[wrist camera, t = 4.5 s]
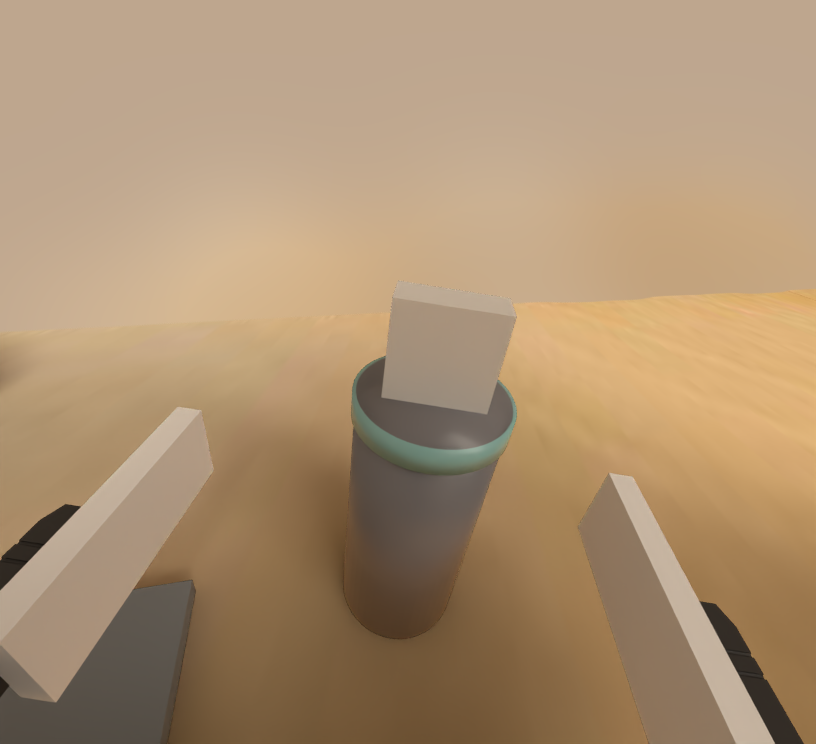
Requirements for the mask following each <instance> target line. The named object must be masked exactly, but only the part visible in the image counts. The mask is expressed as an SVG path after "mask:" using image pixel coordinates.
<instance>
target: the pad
mask: <svg viewBox="0 0 816 744" xmlns="http://www.w3.org/2000/svg"><path fill="white" fill-rule="evenodd" d="M195 592H196V591H195V587H194V584H193V581H192V580H188V581H182V582H176V583H170V584H164V585H158V586H151V587H145V588H139V589H133V590H132V592H131V593H130V595H129V596H128V598H127V599H126V600H125V602H124V603H123V605H122V606H121V608H120V609H119V611H118V612H117V614H116V615H115V617H114V618H113V620H112V621H111V623H110V624H109V626H108V627H107V628H106V630H105V631H104V633H103V634H102V636H101V637H100V639H99V640H98V642H97V643H96V645H95V646H94V648H93V649H92V651H91V652H90V653H89V655H88V656H87V658H86V659H85V661H84V662H83V664H82V665H81V667H80V668H79V670H78V671H77V673H76V674H75V676H74V677H73V679H72V680H71V681H70V683H69V684H68V686H67V687H66V689H65V690H64V692H63V693H62V695H61V696H60V698H59V699H58V701H57V702H56V703H55V702H49V701H42V700H36V699H29V698H23V697H20V696H19V695H18V694H17V693H16V692H15V691H14V690H13V689H11V688H10V687H8V688H7V690H6V691H5V692H4V693H3V695H2V696H1V697H0V744H167V742H168V737H169V731H170V726H171V720H172V715H173V710H174V704H175V699H176V694H177V688H178V683H179V677H180V672H181V667H182V661H183V656H184V651H185V645H186V640H187V634H188V629H189V624H190V618H191V613H192V608H193V602H194V597H195Z"/></svg>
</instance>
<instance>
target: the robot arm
mask: <svg viewBox="0 0 816 744" xmlns="http://www.w3.org/2000/svg"><path fill="white" fill-rule="evenodd" d="M213 471H214V469H213V465H212V460H211V455H210V450H209V445H208V440H207V435H206V430H205V425H204V421H203V416H202V411H201V410H197V409H190V408H184V407H177V408H176V409H175V410H174V411H173V412H172V413H171V414H170V415H169V416H168V417H167V418H166V419H165V420H164V421H163V422H162V423H161V424H160V425H159V427H158V428H157V429H156V430H155V431H154V432H153V433H152V434H151V435H150V436H149V437H148V438H147V439H146V440H145V441H144V442H143V443H142V444H141V445H140V446H139V447H138V448H137V449H136V450H135V451H134V452H133V454H132V455H131V456H130V457H129V458H128V459H127V460H126V461H125V462H124V463H123V464H122V465H121V466H120V467H119V468H118V469H117V470H116V471H115V472H114V473H113V474H112V475H111V476H110V477H109V478H108V479H107V480H106V482H105V483H104V484H103V485H102V486H101V487H100V488H99V489H98V490H97V491H96V492H95V493H94V494H93V495H92V496H91V497H90V498H89V499H88V500H87V501H86V502H85V503H84V504H83V505H82V506H81V507H80V506H74V505H67V504H65V505H64V506H62V507H60V508H59V509H57V510H55V511H54V512H52V513H51V514H49V515H47V516H46V517H44V518H43V519H41V520H40V521H39V522H37V523H36V524H35V525H34V526H33V527H32V528H31V529H30V530H29V531H28V532H27V533H26V534H25V535H24V536H23V537H22V538H21V539H20V540H19V543H18V544H15V545H14V546H13V547H12V548H11V549H9V550H8V551H7V552H6V553H5V554H4V555H3V556H2V559H1V560H0V697H1V696H2V695H3V693H4V692H5V691H6V690H7V688H8V687H10V688H11V689H13V690H14V691H15V692H16V693H17V694H18V695H19V696H20V697H23V698H29V699H36V700H42V701H49V702H55V703H56V702H57V701H58V699H59V698H60V696H61V695H62V693H63V692H64V690H65V689H66V687H67V686H68V684H69V683H70V681H71V680H72V679H73V677H74V676H75V674H76V673H77V671H78V670H79V668H80V667H81V665H82V664H83V662H84V661H85V659H86V658H87V656H88V655H89V653H90V652H91V651H92V649H93V648H94V646H95V645H96V643H97V642H98V640H99V639H100V637H101V636H102V634H103V633H104V631H105V630H106V628H107V627H108V626H109V624H110V623H111V621H112V620H113V618H114V617H115V615H116V614H117V612H118V611H119V609H120V608H121V606H122V605H123V603H124V602H125V600H126V599H127V598H128V596H129V595H130V593H131V592H132V590H133V589H134V587H135V586H136V584H137V583H138V581H139V580H140V578H141V577H142V575H143V574H144V573H145V571H146V570H147V568H148V567H149V565H150V564H151V562H152V561H153V559H154V558H155V556H156V555H157V553H158V552H159V550H160V549H161V547H162V546H163V545H164V543H165V542H166V540H167V539H168V537H169V536H170V534H171V533H172V531H173V530H174V528H175V527H176V525H177V524H178V522H179V521H180V519H181V518H182V517H183V515H184V514H185V512H186V511H187V509H188V508H189V506H190V505H191V503H192V502H193V500H194V499H195V497H196V496H197V494H198V493H199V492H200V490H201V489H202V487H203V486H204V484H205V483H206V481H207V480H208V478H209V477H210V475H211V474H212V472H213ZM578 529H579V532H580V535H581V538H582V541H583V545H584V548H585V551H586V554H587V557H588V560H589V563H590V566H591V569H592V572H593V575H594V578H595V581H596V584H597V587H598V590H599V593H600V596H601V599H602V602H603V606H604V609H605V612H606V615H607V618H608V621H609V624H610V627H611V630H612V633H613V636H614V639H615V642H616V645H617V648H618V651H619V654H620V657H621V660H622V663H623V667H624V670H625V673H626V676H627V679H628V682H629V685H630V688H631V691H632V694H633V697H634V700H635V703H636V706H637V709H638V712H639V715H640V718H641V721H642V725H643V728H644V731H645V734H646V737H647V740H648V743H649V744H804V743H803V742H802V740H801V738H800V737H799V735H798V733H797V731H796V730H795V728H794V726H793V724H792V723H791V721H790V719H789V718H788V716H787V714H786V712H785V711H784V709H783V707H782V705H781V704H780V702H779V700H778V699H777V697H776V695H775V693H774V692H773V690H772V688H771V686H770V685H769V683H768V681H767V680H765V679H764V678H763V673H762V671H761V669H760V667H759V666H758V664H757V662H756V661H755V659H754V658H752V657H751V652H750V650H749V648H748V647H747V645H746V643H745V642H744V640H743V638H742V636H741V635H740V633H739V631H738V629H737V628H736V626H735V625H734V624H733V623H732V622H731V621H730V620H729V619H728V617H727V616H726V615H725V614H724V613H723V612H722V611H721V610H720V608H719V607H718V606H717V605H716V604H713V603H707V602H700V601H699V600H698V598H697V596H696V594H695V592H694V590H693V589H692V587H691V585H690V583H689V581H688V579H687V577H686V575H685V574H684V572H683V570H682V568H681V566H680V564H679V562H678V560H677V559H676V557H675V555H674V553H673V551H672V549H671V547H670V545H669V544H668V542H667V540H666V538H665V536H664V534H663V532H662V530H661V529H660V527H659V525H658V523H657V521H656V519H655V517H654V515H653V514H652V512H651V510H650V508H649V506H648V504H647V502H646V500H645V499H644V497H643V495H642V493H641V491H640V489H639V487H638V485H637V483H636V482H635V480H634V478H633V477H632V476H626V475H619V474H613V473H609V474H608V475H607V477H606V479H605V481H604V482H603V484H602V486H601V488H600V489H599V491H598V493H597V494H596V496H595V498H594V500H593V501H592V503H591V505H590V506H589V508H588V510H587V512H586V513H585V515H584V517H583V518H582V520H581V522H580V524H579V525H578Z"/></svg>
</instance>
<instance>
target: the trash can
mask: <svg viewBox="0 0 816 744" xmlns="http://www.w3.org/2000/svg"><path fill="white" fill-rule="evenodd" d="M516 318H517V316H516V313H515V310H514V307H513V304H512V301H511V299H510V298H506V297H500V296H493V295H486V294H480V293H474V292H467V291H461V290H454V289H448V288H442V287H436V286H429V285H422V284H416V283H409V282H404V281H398V283H397V286H396V289H395V291H394V294H393V297H392V306H391V315H390V324H389V333H388V342H387V351H386V356H384V357H381V358H378V359H376V360H374V361H372V362H371V363H369V364H368V365H366V366H365V367H364V368H363V369H362V370H361V371H360V372H359V373H358V375H357V376H356V378H355V380H354V383H353V389H352V405H351V418H352V423H353V426H354V427H353V442H352V457H351V472H350V487H349V502H348V518H347V533H346V548H345V563H344V579H343V587H344V594H345V598H346V601H347V604H348V606H349V608H350V610H351V612H352V613H353V615H354V616H355V618H356V619H357V620H358V621H359V622H360V623H361V624H362V625H363V626H364V627H366V628H367V629H368V630H370V631H372V632H373V633H375V634H378V635H380V636H383V637H387V638H393V639H406V638H411V637H415V636H417V635H420V634H422V633H424V632H426V631H427V630H429V629H430V628H431V627H432V626H434V624H435V623H436V622H437V621H438V620H439V619H440V617H441V616H442V614H443V613H444V611H445V609H446V606H447V603H448V600H449V597H450V595H451V592H452V589H453V586H454V583H455V580H456V578H457V575H458V572H459V569H460V566H461V563H462V561H463V558H464V555H465V552H466V549H467V546H468V544H469V541H470V538H471V535H472V532H473V529H474V527H475V524H476V521H477V518H478V515H479V512H480V510H481V507H482V504H483V501H484V498H485V495H486V493H487V490H488V487H489V484H490V481H491V478H492V476H493V473H494V470H495V467H496V464H497V461H498V459H499V457H500V456H501V455H502V454H503V452H504V450H505V449H506V447H507V444H508V441H509V439H510V436H511V433H512V430H513V427H514V425H515V422H516V417H517V410H516V405H515V402H514V399H513V397H512V396H511V394H510V392H509V391H508V390H507V388H506V387H505V386H504V385H503V384H502V383H501V382H500V381H499V380H498V377H499V374H500V370H501V367H502V364H503V361H504V357H505V354H506V351H507V347H508V344H509V341H510V338H511V334H512V331H513V328H514V324H515V321H516Z"/></svg>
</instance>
